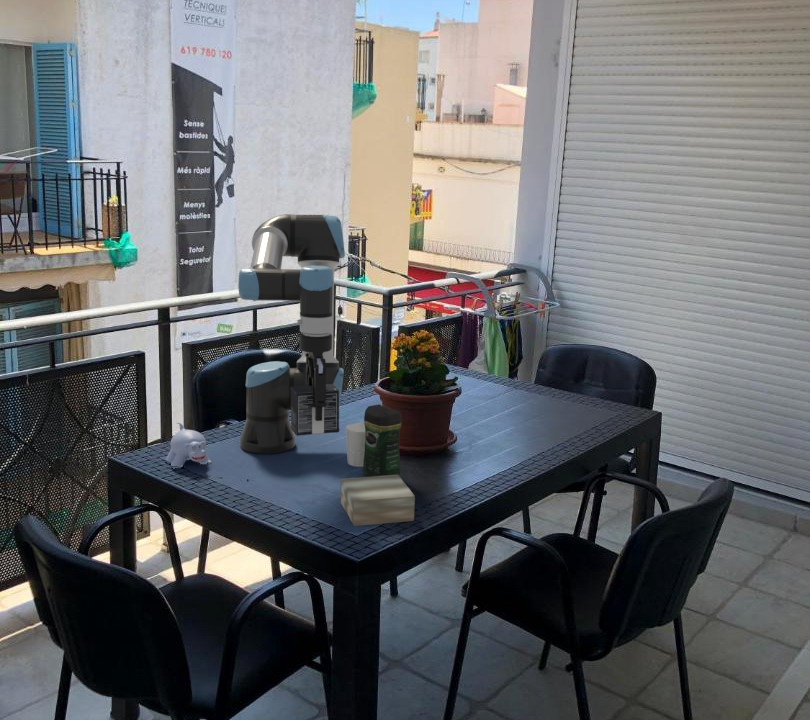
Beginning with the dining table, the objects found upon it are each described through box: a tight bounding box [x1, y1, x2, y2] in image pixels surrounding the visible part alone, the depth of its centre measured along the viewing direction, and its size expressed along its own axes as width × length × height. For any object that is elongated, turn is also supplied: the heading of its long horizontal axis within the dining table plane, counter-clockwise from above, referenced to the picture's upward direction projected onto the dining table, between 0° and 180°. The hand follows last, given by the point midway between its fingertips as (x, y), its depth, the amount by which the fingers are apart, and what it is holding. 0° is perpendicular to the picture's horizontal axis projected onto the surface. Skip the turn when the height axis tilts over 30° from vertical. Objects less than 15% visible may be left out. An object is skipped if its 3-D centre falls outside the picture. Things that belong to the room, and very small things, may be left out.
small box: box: [290, 384, 340, 437], centre depth 219 cm, size 11×6×10 cm, turn 109°
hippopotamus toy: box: [165, 422, 212, 466], centre depth 243 cm, size 11×15×10 cm
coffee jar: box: [362, 404, 402, 477], centre depth 237 cm, size 10×8×19 cm
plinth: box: [340, 475, 416, 527], centre depth 216 cm, size 14×14×6 cm
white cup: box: [345, 422, 365, 468], centre depth 247 cm, size 8×8×10 cm
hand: (315, 428), depth 220 cm, fingers closed on small box, 6 cm apart
